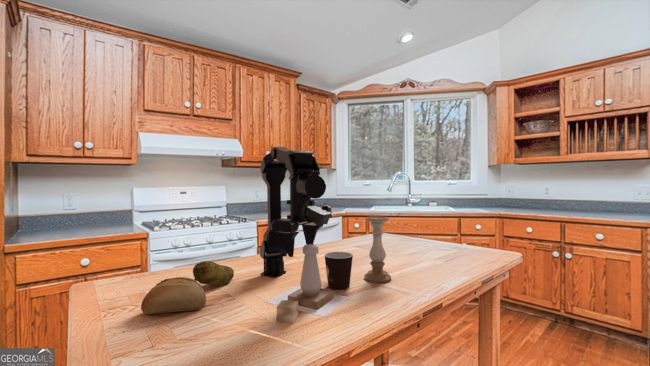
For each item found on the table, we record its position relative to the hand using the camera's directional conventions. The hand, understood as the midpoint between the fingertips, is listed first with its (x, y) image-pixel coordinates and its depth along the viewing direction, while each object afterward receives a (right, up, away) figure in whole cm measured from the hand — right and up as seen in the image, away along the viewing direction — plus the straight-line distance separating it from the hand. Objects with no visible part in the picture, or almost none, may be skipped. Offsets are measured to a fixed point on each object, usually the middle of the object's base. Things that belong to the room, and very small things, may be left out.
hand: (300, 253), depth 86 cm
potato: (-28, -13, +13) cm, 33 cm away
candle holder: (+24, -13, +17) cm, 32 cm away
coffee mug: (+11, -13, +11) cm, 20 cm away
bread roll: (-32, -14, -6) cm, 35 cm away
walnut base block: (+3, -12, -2) cm, 13 cm away
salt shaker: (+3, -11, -2) cm, 11 cm away
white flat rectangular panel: (+2, -13, -1) cm, 13 cm away
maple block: (-2, -13, -13) cm, 18 cm away
